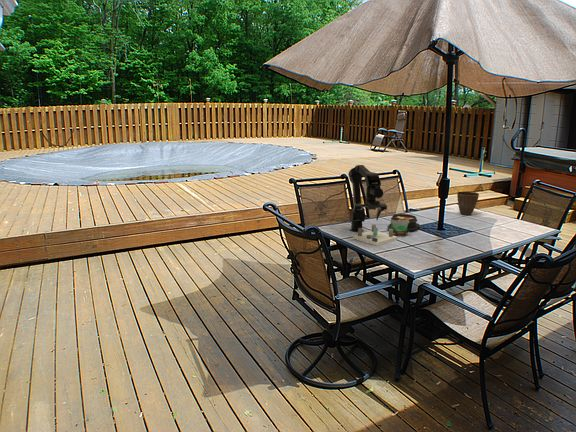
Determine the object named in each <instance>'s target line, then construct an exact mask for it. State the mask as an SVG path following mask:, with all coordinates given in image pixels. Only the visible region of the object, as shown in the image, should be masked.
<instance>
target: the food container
mask: <svg viewBox="0 0 576 432" xmlns="http://www.w3.org/2000/svg"><path fill="white" fill-rule="evenodd" d="M390 223H391V229H393V236H397V237H406V236H407V232H408V231H407V227H408V223H409V219H408V218H407V219H406V220H401V219H399V220H392V219H391V218H390ZM390 223H389V224H390Z"/></svg>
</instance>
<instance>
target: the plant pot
mask: <svg viewBox="0 0 576 432" xmlns="http://www.w3.org/2000/svg"><path fill="white" fill-rule="evenodd" d="M456 193H457V194H456V195H457V197H456V199H457V205H458V206H457V207H458V211H459V213H460V215H462V216H468V217H469V216H472V214H473V213H474V210H475V208H476V206H477V204H478V200H479V196H480V194H479V192H473V191H458V192H456Z"/></svg>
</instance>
